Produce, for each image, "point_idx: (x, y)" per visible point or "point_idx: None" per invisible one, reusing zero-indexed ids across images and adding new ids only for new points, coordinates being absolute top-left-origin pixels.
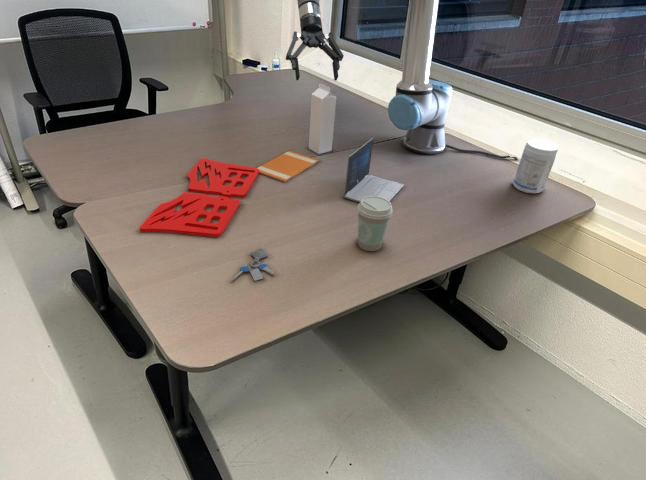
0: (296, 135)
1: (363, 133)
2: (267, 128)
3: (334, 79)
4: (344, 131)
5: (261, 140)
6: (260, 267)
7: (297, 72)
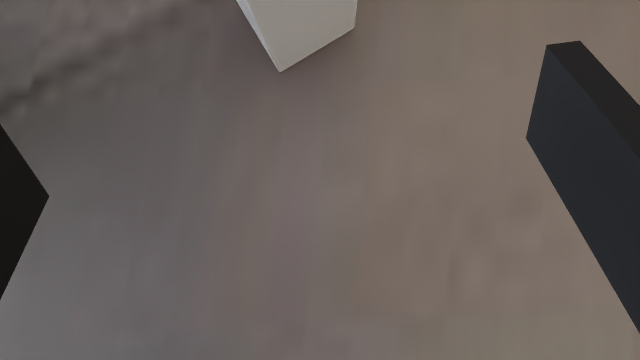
0: (404, 206)
1: None
2: (566, 305)
3: (41, 197)
4: (123, 283)
5: None
6: None
7: (602, 73)
